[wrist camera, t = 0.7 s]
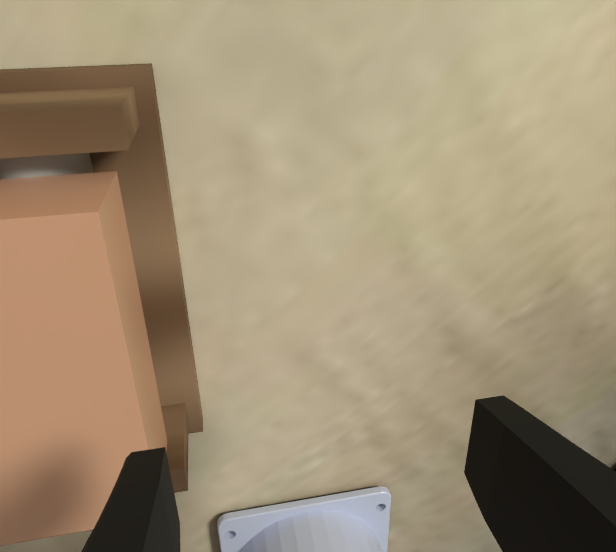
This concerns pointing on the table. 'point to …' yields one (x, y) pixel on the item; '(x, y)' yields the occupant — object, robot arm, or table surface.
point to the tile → (69, 354)
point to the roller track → (135, 196)
